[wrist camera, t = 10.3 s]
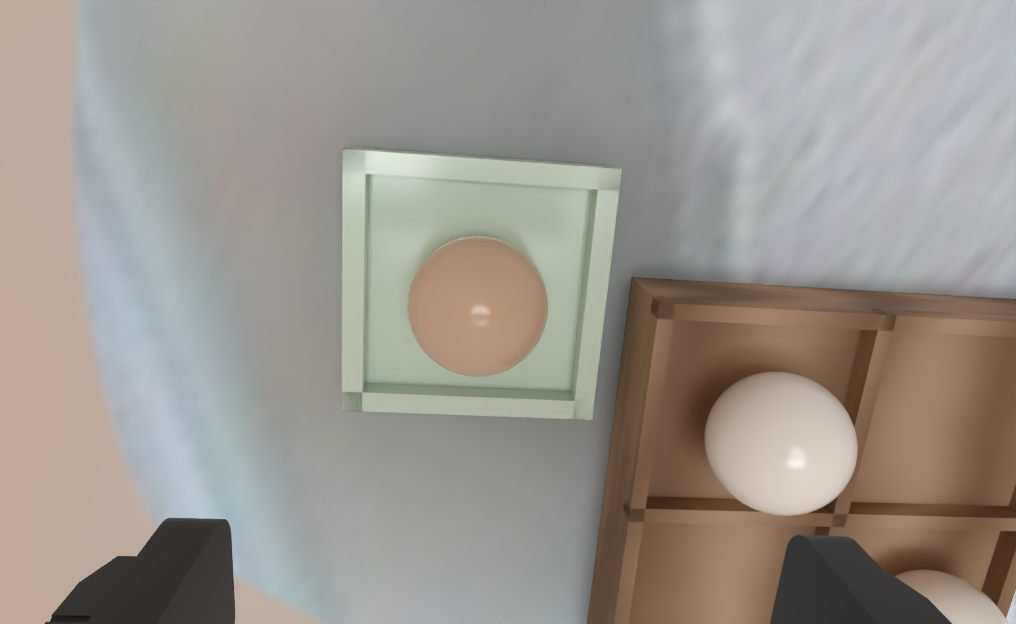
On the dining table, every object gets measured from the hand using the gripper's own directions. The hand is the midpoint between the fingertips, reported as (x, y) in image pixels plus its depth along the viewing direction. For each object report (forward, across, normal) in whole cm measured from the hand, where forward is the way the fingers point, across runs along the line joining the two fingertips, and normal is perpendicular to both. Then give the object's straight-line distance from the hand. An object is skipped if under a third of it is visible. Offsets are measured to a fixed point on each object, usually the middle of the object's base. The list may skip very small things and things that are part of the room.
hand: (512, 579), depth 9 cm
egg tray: (+18, -15, +8) cm, 25 cm away
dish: (+18, 0, 0) cm, 18 cm away
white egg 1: (+12, -11, +4) cm, 17 cm away
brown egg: (+15, 0, 0) cm, 15 cm away
